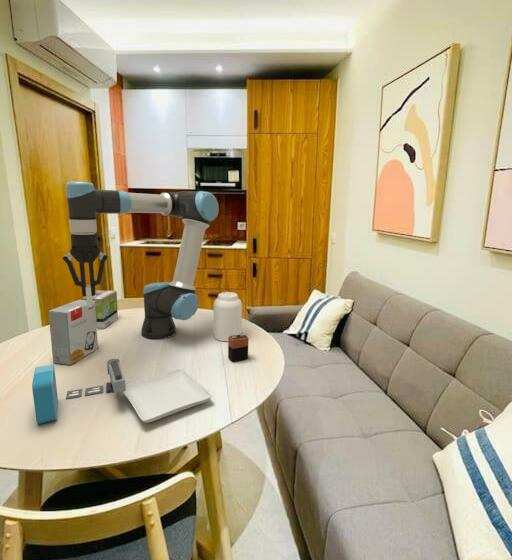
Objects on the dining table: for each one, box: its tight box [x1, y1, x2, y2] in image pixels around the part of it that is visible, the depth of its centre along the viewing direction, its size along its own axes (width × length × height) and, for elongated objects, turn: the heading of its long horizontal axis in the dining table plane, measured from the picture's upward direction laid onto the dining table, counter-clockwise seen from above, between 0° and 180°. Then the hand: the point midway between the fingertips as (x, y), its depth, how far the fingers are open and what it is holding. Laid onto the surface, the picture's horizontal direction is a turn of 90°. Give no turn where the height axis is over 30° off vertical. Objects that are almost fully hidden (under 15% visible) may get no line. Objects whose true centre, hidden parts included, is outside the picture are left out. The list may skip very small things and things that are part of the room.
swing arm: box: [106, 358, 126, 395], centre depth 100 cm, size 15×4×5 cm, turn 30°
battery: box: [227, 332, 250, 363], centre depth 128 cm, size 4×7×10 cm, turn 118°
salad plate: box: [121, 368, 213, 423], centre depth 101 cm, size 21×21×3 cm
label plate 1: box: [65, 388, 83, 400], centre depth 102 cm, size 4×4×1 cm
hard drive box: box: [48, 299, 99, 366], centre depth 125 cm, size 16×8×20 cm, turn 168°
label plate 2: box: [84, 385, 104, 397], centre depth 104 cm, size 5×4×1 cm
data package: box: [31, 363, 59, 425], centre depth 92 cm, size 12×4×12 cm, turn 29°
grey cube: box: [105, 378, 114, 394], centre depth 106 cm, size 5×5×5 cm
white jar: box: [212, 291, 243, 342], centre depth 147 cm, size 12×12×20 cm
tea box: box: [81, 289, 119, 330], centre depth 159 cm, size 15×10×15 cm, turn 179°
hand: (89, 305), depth 109 cm, fingers closed
